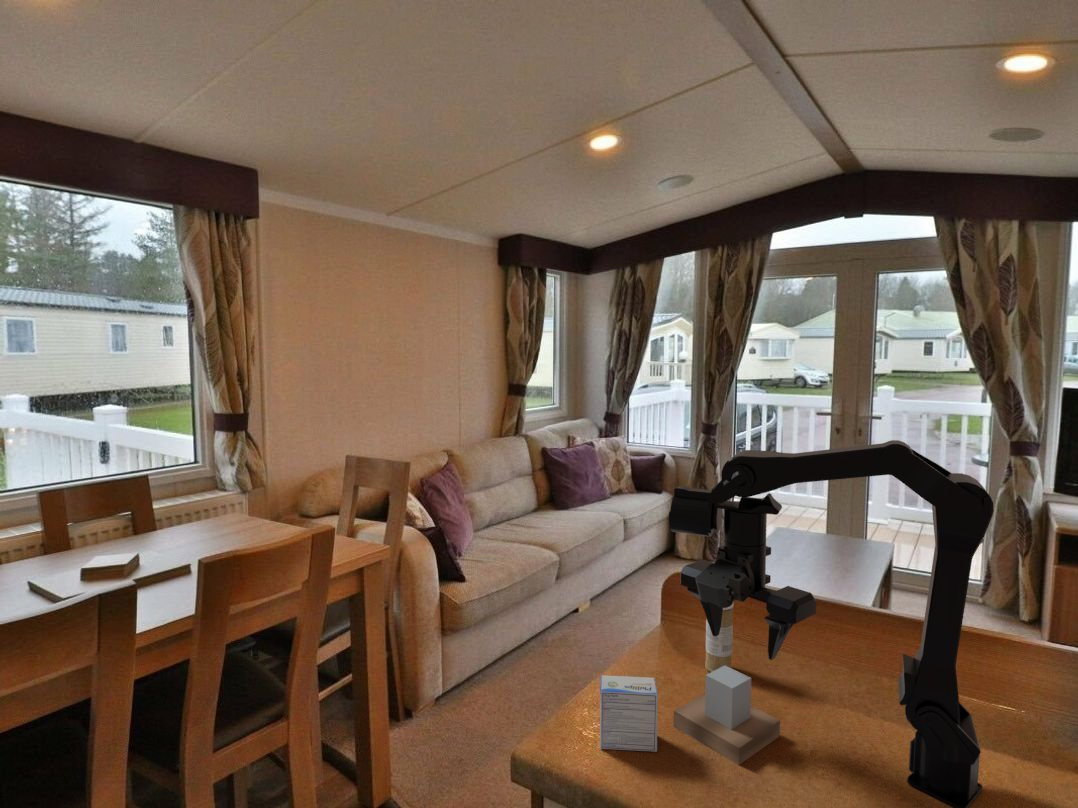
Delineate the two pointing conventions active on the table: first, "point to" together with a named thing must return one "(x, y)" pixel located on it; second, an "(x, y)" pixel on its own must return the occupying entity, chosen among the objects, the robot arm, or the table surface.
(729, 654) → the sprinkles bottle
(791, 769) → the table surface
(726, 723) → the grey block
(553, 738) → the table surface
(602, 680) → the medicine box
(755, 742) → the brown flat block
